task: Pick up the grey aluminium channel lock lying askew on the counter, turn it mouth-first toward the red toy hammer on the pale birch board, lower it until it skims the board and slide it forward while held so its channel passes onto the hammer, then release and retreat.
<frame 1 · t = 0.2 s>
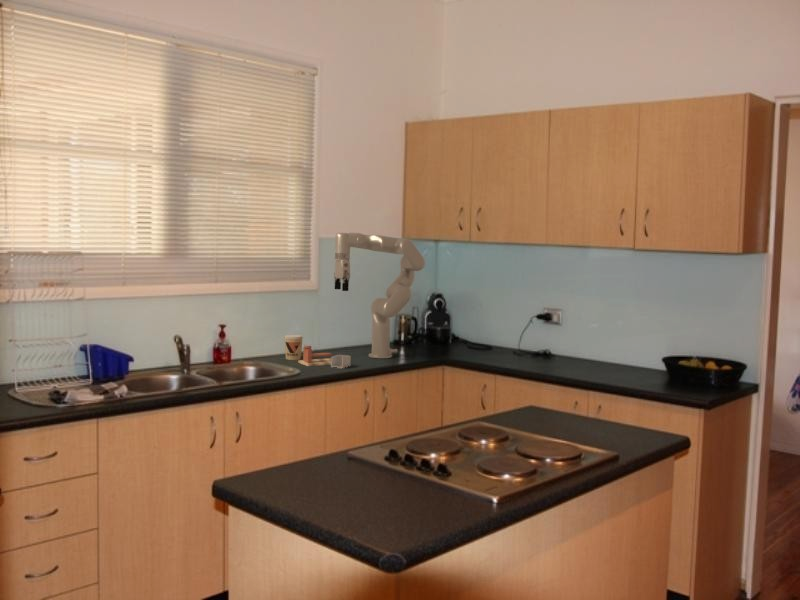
hand: (341, 290, 429), 36 cm above the counter, tool pointing down, fingers open, 9 cm apart
birch board: (323, 362, 421), on the counter
coffee cup: (293, 359, 431), on the counter
red toy hammer: (330, 362, 423), resting on birch board
coupler lock: (340, 367, 412), on the counter
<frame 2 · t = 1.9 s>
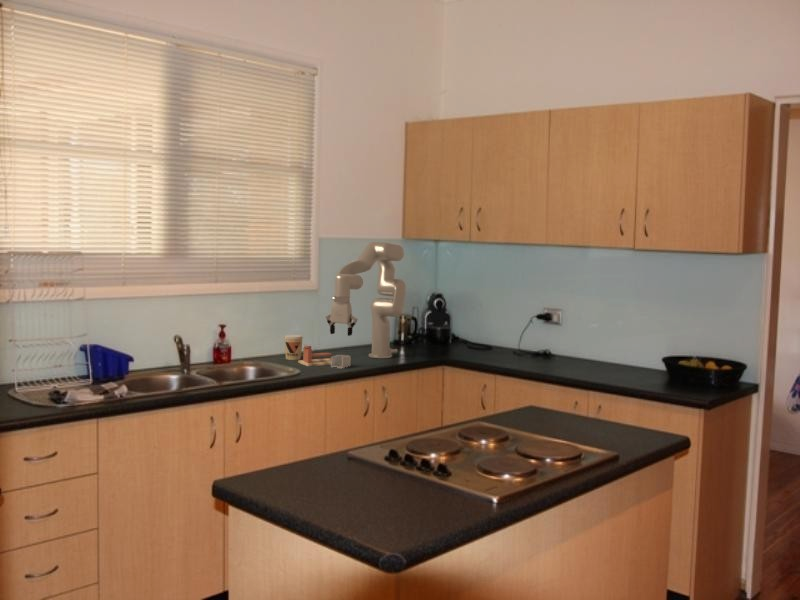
hand: (341, 334, 410), 16 cm above the counter, tool pointing down, fingers open, 9 cm apart
nothing on the counter moved.
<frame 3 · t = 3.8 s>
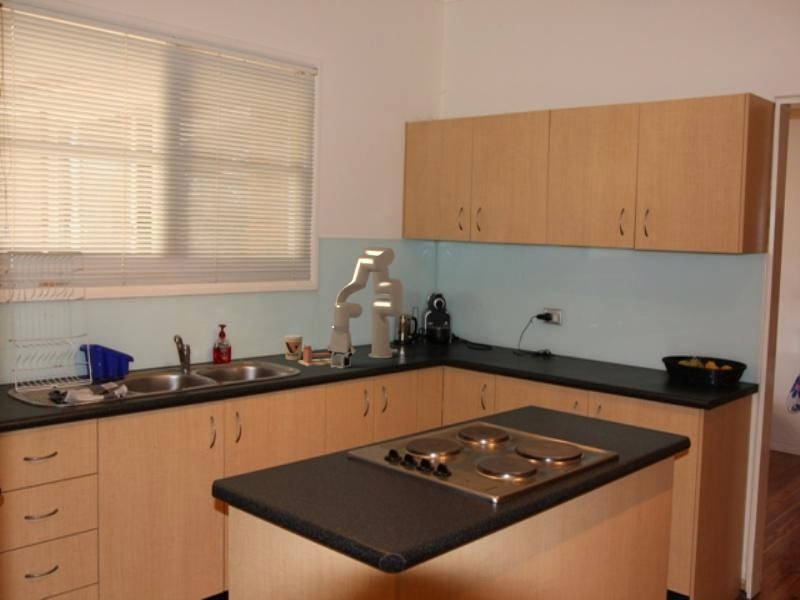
hand: (340, 364, 412), 1 cm above the counter, tool pointing down, fingers closed on coupler lock, 6 cm apart
coupler lock: (340, 366, 412), on the counter, touching gripper
everything else where it was.
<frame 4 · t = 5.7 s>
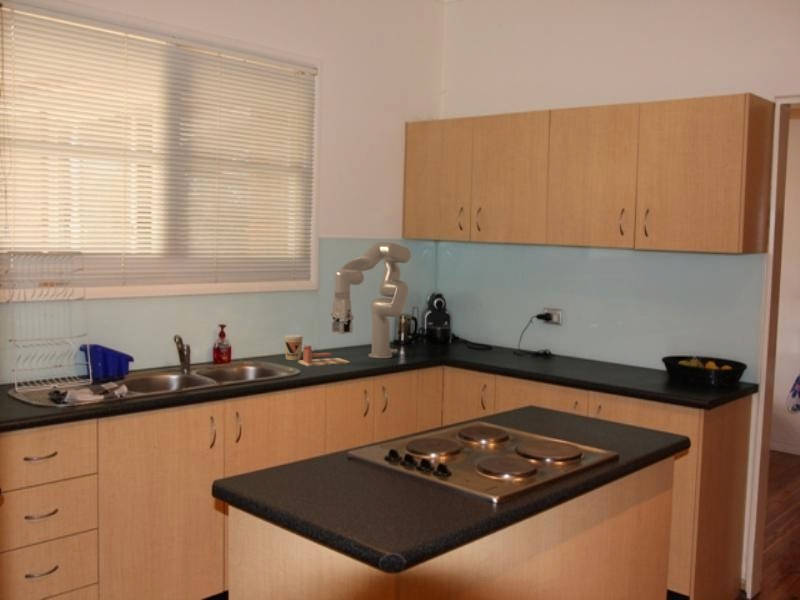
hand: (342, 330, 418), 17 cm above the counter, tool pointing down, fingers closed on coupler lock, 6 cm apart
coupler lock: (342, 332, 418), point 16 cm above the counter, touching gripper
everything else where it was.
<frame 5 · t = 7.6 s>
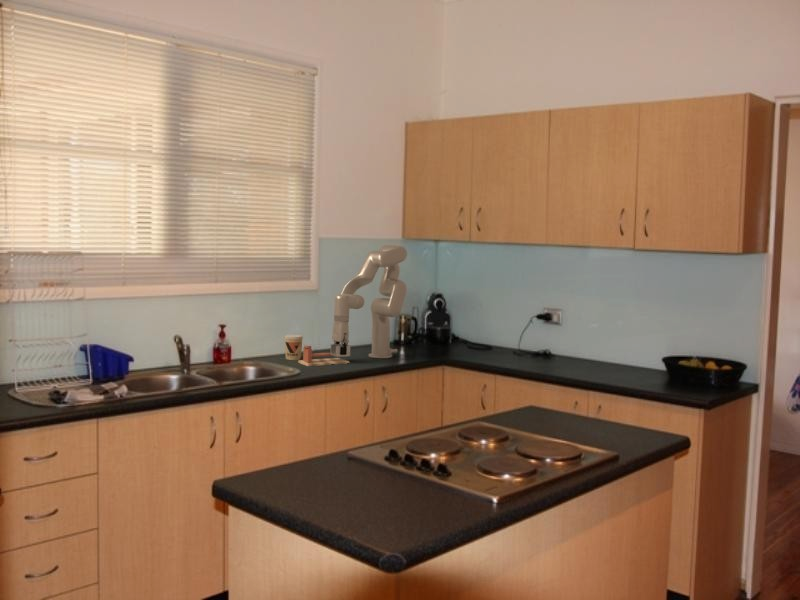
hand: (340, 353, 425), 4 cm above the counter, tool pointing down, fingers closed on coupler lock, 6 cm apart
coupler lock: (340, 355, 425), point 3 cm above the counter, touching gripper
everything else where it was.
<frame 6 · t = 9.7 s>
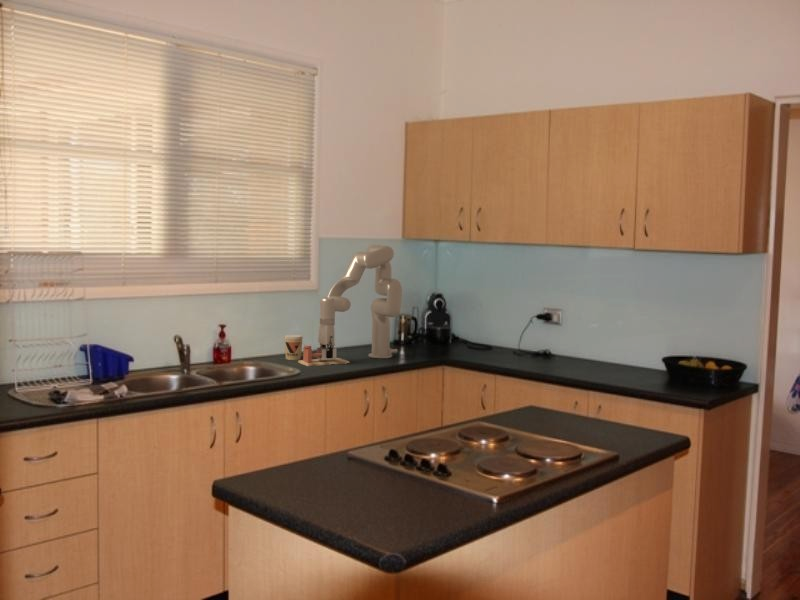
hand: (326, 356, 421), 3 cm above the counter, tool pointing down, fingers closed on coupler lock, 6 cm apart
coupler lock: (326, 358, 422), point 2 cm above the counter, touching gripper
everything else where it was.
when the fingers open (3 cm above the counter, at t = 11.5 s): coupler lock stays where it is, resting on birch board.
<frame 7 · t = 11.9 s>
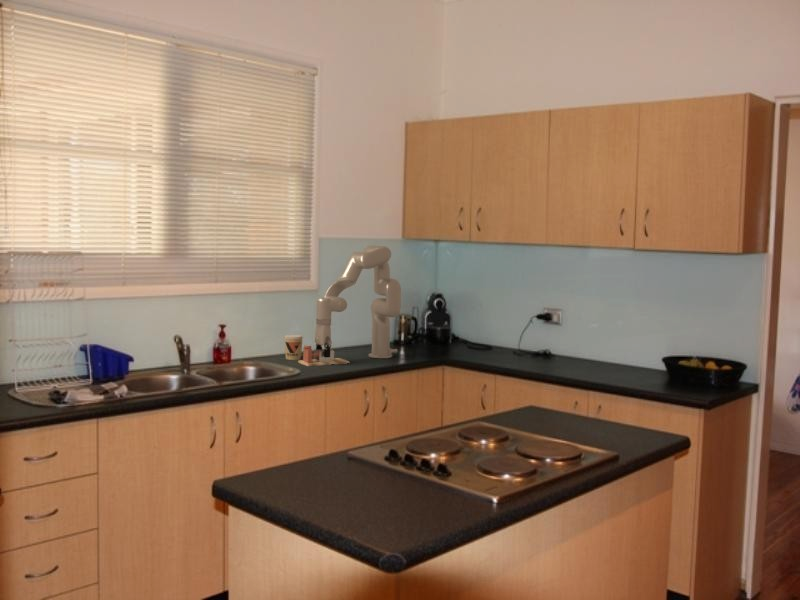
hand: (323, 355, 420), 4 cm above the counter, tool pointing down, fingers open, 9 cm apart
coupler lock: (324, 360, 421), point 1 cm above the counter, touching birch board
everything else where it was.
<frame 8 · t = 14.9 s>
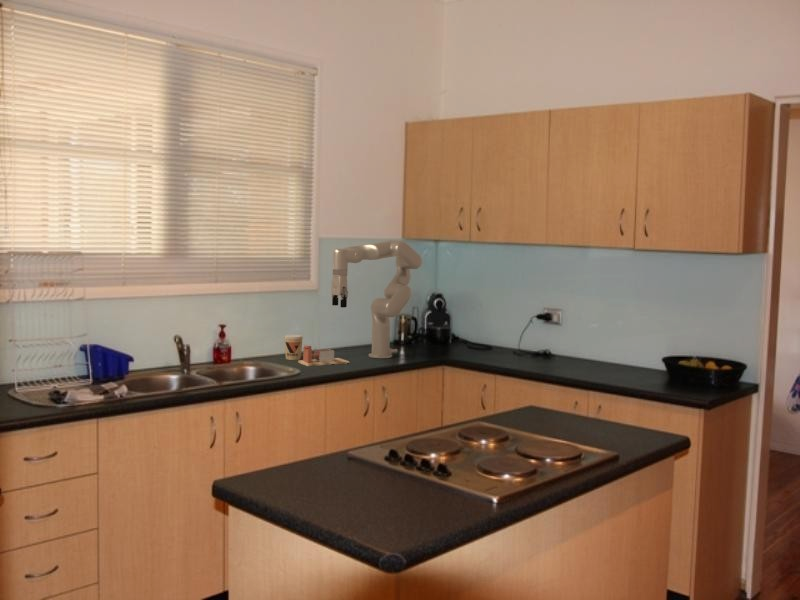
hand: (339, 306, 426), 28 cm above the counter, tool pointing down, fingers open, 9 cm apart
nothing on the counter moved.
at the end: coupler lock 1.2 cm from the target spot on the red toy hammer, point 1.0 cm above the red toy hammer's base; coupler lock tilted 0°; the gripper is holding nothing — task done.
